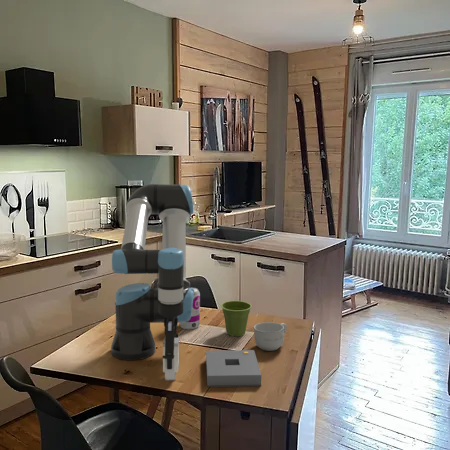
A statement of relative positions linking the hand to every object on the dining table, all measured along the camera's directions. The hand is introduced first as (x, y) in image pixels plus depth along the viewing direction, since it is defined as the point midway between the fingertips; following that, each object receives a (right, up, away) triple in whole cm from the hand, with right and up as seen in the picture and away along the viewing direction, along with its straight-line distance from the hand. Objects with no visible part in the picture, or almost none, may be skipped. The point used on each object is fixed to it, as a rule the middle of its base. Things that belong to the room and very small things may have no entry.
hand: (170, 367), depth 141 cm
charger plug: (0, -3, 0) cm, 3 cm away
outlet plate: (+19, -3, +5) cm, 19 cm away
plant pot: (+21, +2, +38) cm, 43 cm away
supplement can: (+2, +3, +44) cm, 44 cm away
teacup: (+33, 0, +25) cm, 42 cm away
